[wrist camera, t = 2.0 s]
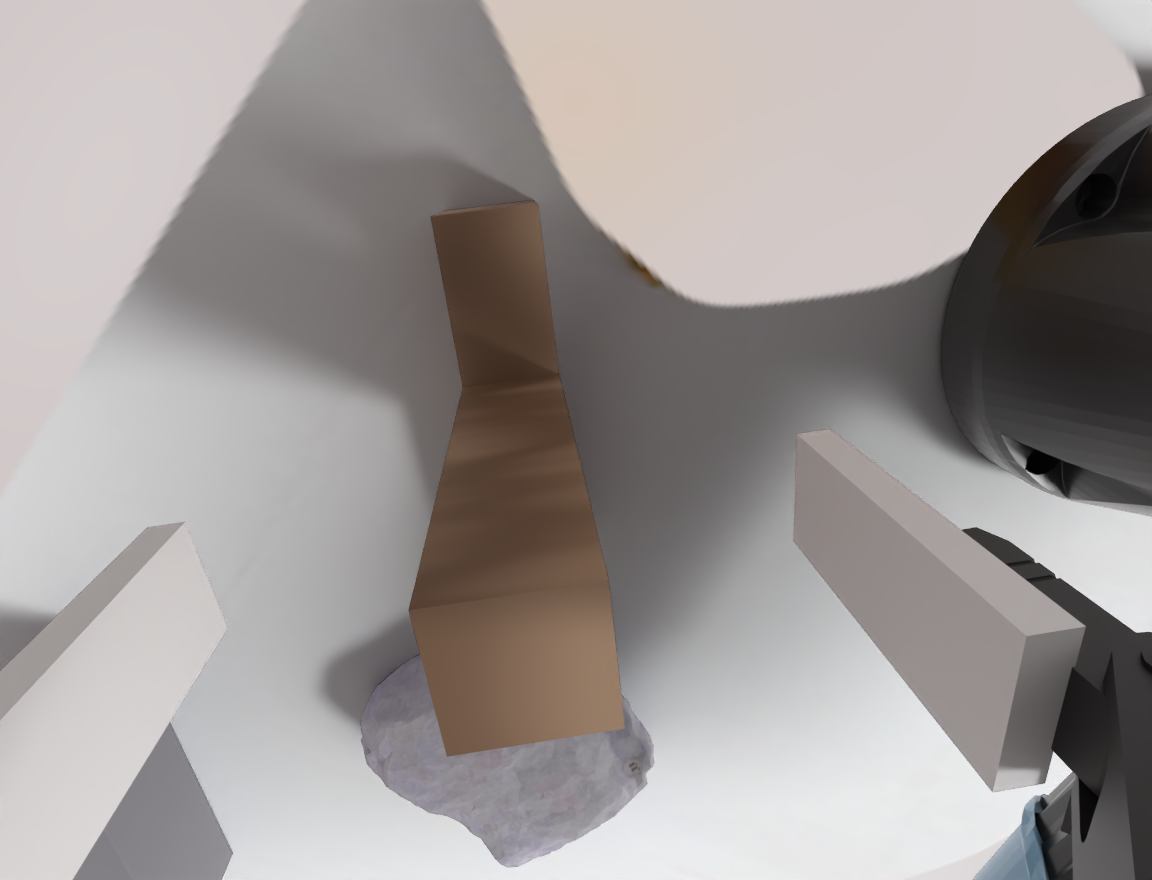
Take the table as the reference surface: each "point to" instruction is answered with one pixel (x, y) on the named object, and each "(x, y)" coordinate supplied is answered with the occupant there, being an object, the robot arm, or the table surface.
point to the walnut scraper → (511, 513)
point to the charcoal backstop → (160, 826)
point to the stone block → (502, 772)
